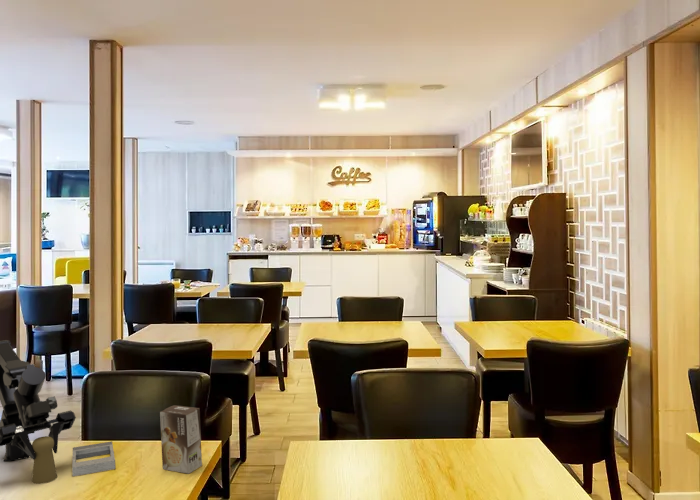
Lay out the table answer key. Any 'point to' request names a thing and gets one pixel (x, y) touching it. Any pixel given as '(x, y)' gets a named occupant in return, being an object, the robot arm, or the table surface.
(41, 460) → the cork
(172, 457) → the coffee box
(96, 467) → the silver metal frame
